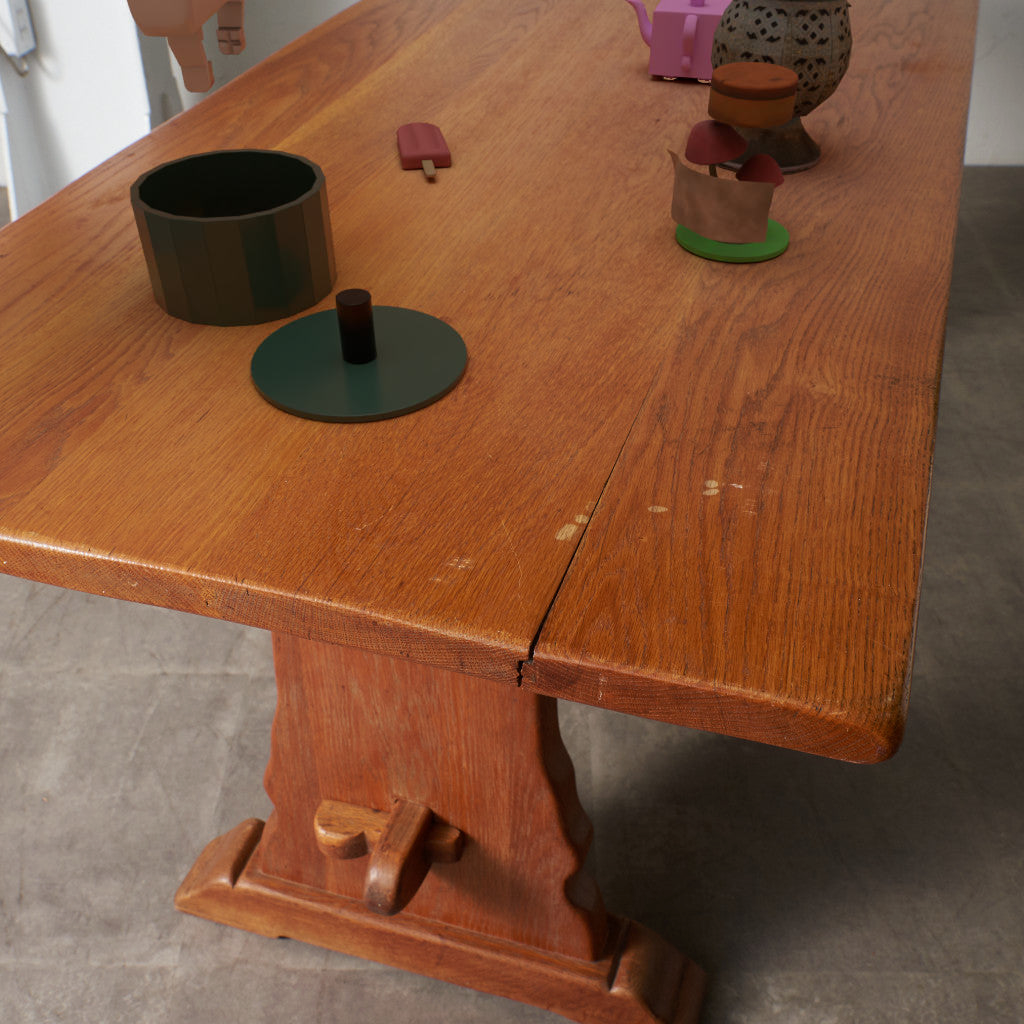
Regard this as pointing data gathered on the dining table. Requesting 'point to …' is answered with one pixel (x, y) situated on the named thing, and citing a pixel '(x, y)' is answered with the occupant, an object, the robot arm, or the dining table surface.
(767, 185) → the mushroom toy stack
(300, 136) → the dining table surface
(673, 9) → the teapot
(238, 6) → the robot arm
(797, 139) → the lantern
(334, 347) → the lid
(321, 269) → the bin
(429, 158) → the popsicle
